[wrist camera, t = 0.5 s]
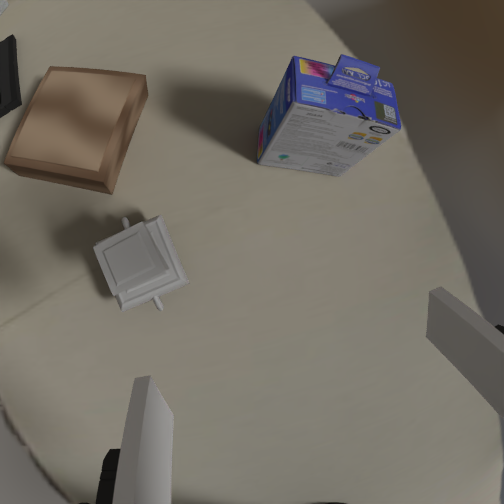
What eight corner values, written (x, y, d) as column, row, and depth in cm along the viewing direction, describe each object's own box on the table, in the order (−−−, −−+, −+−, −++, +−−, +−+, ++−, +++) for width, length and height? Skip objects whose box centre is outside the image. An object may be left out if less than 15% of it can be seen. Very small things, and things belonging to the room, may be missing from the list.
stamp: (194, 294, 30) (198, 297, 22) (132, 322, 29) (113, 334, 20) (158, 209, 30) (150, 181, 22) (98, 235, 29) (69, 217, 21)
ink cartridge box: (339, 135, 36) (409, 69, 21) (341, 178, 35) (421, 122, 21) (258, 120, 34) (301, 33, 19) (256, 165, 33) (304, 88, 19)
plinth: (112, 194, 29) (102, 181, 25) (19, 175, 27) (2, 162, 23) (148, 95, 31) (145, 73, 27) (59, 85, 29) (49, 65, 25)
